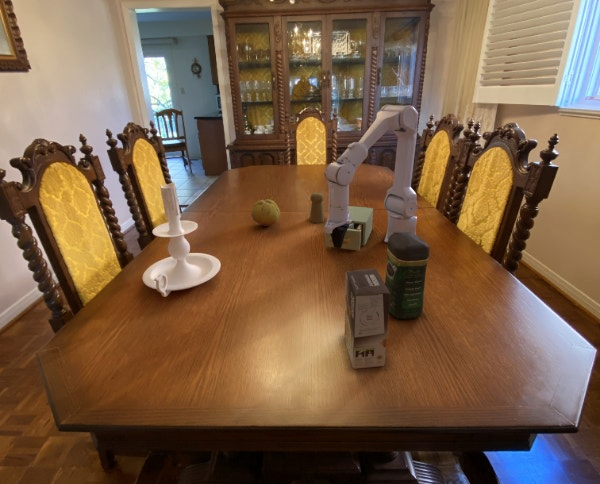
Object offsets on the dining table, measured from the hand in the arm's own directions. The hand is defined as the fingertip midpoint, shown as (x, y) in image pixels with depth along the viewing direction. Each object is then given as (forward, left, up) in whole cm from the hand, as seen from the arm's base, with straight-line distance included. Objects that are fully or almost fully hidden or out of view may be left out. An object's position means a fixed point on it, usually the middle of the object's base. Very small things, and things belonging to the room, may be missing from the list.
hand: (337, 246), depth 105 cm
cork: (+16, -30, -4) cm, 34 cm away
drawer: (0, -10, -3) cm, 10 cm away
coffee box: (-15, +37, -4) cm, 40 cm away
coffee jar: (-21, +20, -4) cm, 30 cm away
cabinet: (0, -19, -4) cm, 19 cm away
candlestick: (+37, +27, -4) cm, 46 cm away
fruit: (+33, -19, -4) cm, 38 cm away
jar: (0, -11, -2) cm, 11 cm away
